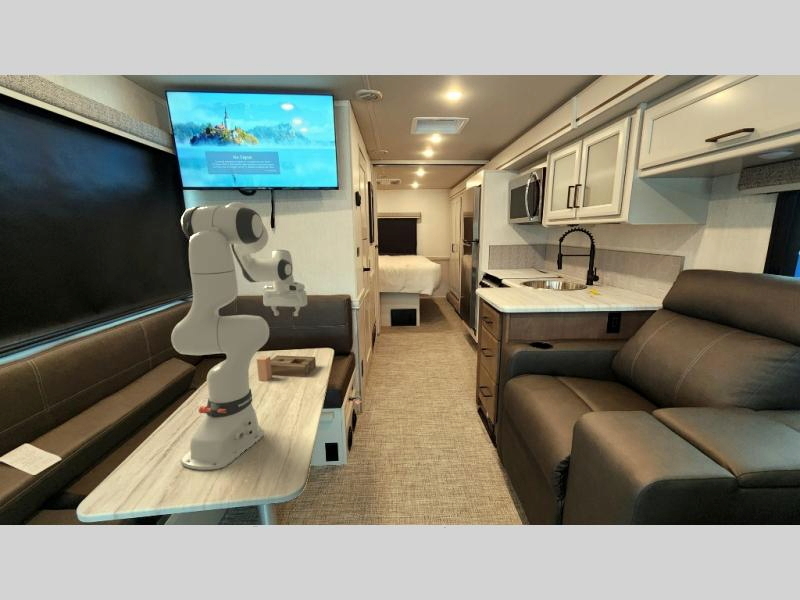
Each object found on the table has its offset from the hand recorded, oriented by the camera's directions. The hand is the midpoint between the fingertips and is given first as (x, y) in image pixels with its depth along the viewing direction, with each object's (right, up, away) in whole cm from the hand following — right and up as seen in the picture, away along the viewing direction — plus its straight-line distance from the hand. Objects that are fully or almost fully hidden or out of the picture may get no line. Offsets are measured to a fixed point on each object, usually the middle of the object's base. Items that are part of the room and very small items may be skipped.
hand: (286, 315), depth 144 cm
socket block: (0, -27, +5) cm, 27 cm away
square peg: (-8, -28, -4) cm, 30 cm away
